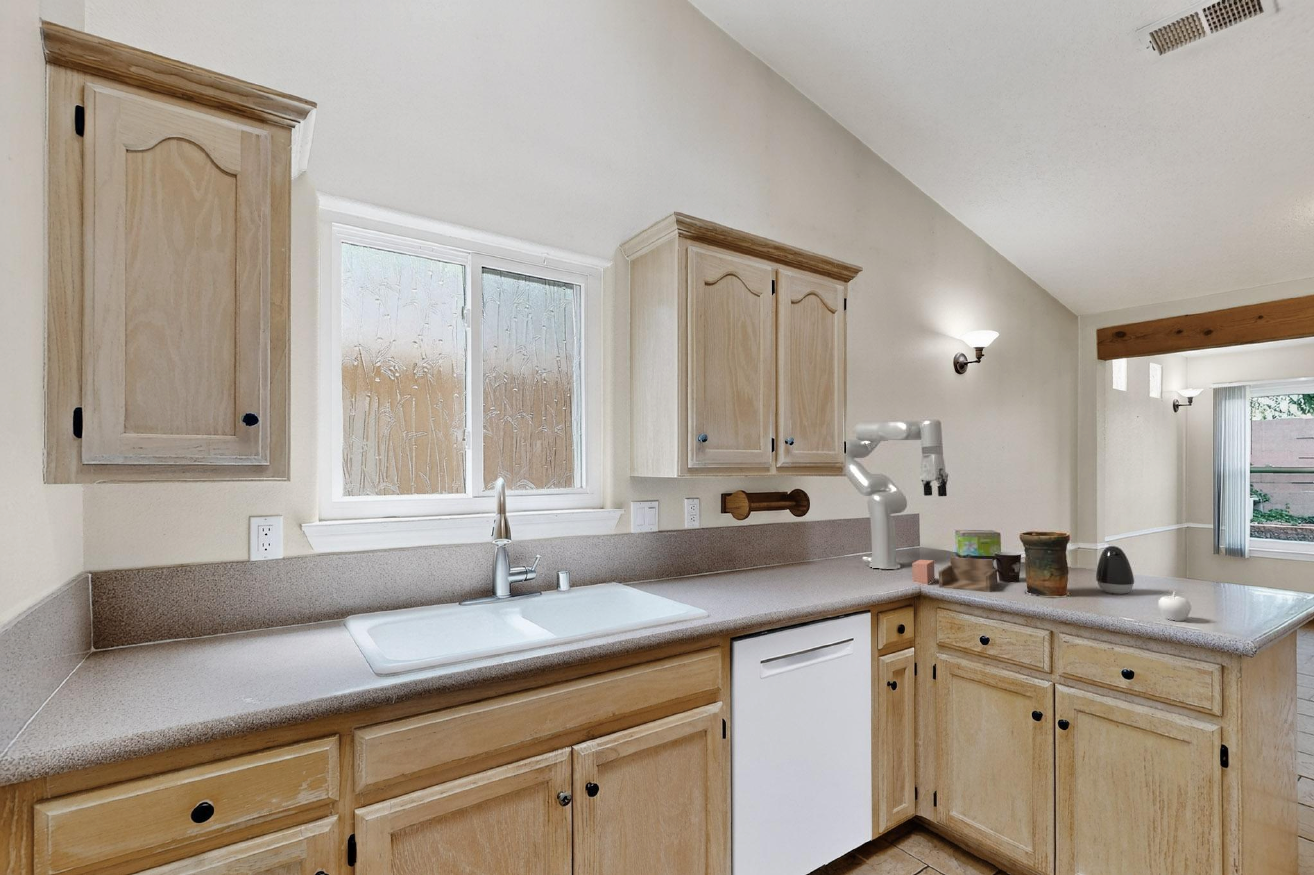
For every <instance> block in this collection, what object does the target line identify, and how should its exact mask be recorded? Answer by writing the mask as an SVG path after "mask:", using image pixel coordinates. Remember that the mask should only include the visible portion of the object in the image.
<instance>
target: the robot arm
mask: <svg viewBox="0 0 1314 875" xmlns="http://www.w3.org/2000/svg"><path fill="white" fill-rule="evenodd" d="M942 430H943V429H942V422H941V421H940V420H938V419H925V420H922V421H921V420H919V421H917V420H915V421H914V420H900V421H899V420H898V421H895V420H893V421H888V420H873V421H860V422H858V423H856V424H855V425H854V427H853V430H852V434H853V436H854V438H855V439H845V440H846V475H845V477H846V478H847V479H848V480H849V482H850V483H851V484H852V485H853V487H854V488H855V489H856V491H858V492H859V493H860V495H862V496H863V497H864V496H865V497H868V499H867V503H866V504H867V509H868V515H869V519H870V531H871V534H870V535H871V556H863V557H862V561H863V562H866V563H868V562H869V563H868V567H869V566H870V567H872V568H871V569H873V568H886V569H893V568H899V569H901V568H900V567H901V565H900V564H898V563H897V547H896V545H897V544H896V526H895V525H896V524H895V522H894V518H893V517H892V515H894V514H896V515H897V514H900V513H903V512H904V511H905V510H906V509H907V506H908V500H907V498H906V495H905V494H904V493H903V491H902V490H901V489H900V488H899V487H898V486H897V485H896V484H895V482H893V480H892V479H891V478H890V477H889V476H887V475H885V474H883V473H870V472H869V471H868V470H867V468H866V467H865V466H864V465H863V463H861V462H859V461H858V460H856V459H864V458H867V457H868V456H869V455H870V454H871V453H872V452H873V451H874V450H876V448H877V447H878V445H879V444H880V443H881V442H888V441H921V442H920V443H921V461H920V478H921V482H922V486H923V495H924V496H927V497H928V496H929V497H930V496H933V485H932V482H935V481H936V483H937V484H938V485H937V496H938V497H947V496H948V492H947V485H948V480H949V479H948V478H949V473H948V472H947V471H946V465H945V458H944V449H943V448H944V447H943V445H944V444H943V431H942ZM870 567H869V568H870Z"/></svg>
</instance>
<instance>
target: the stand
mask: <svg viewBox="0 0 1314 875" xmlns="http://www.w3.org/2000/svg"><path fill="white" fill-rule="evenodd" d="M998 581H999V580H998V572H997V568H996V569H994V563H993V560H985V559H970V558H956V557H950V565H949V564H948V565H946V566H945V567H944V568H941V569H940V570H938V587H939V588H940V587H944V588H943V589H951V588H953V590H962V589H963V591H964V590H965V591H975V592H985V593H986V592H987V593H991V592H992V591H993V590H994V589H995V587H996V586H998Z"/></svg>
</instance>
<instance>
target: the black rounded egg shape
mask: <svg viewBox="0 0 1314 875" xmlns="http://www.w3.org/2000/svg"><path fill="white" fill-rule="evenodd" d="M1134 577H1135V576H1134V573H1133V570H1132V566H1131V564H1130V561H1129V559H1128V557H1127V554H1126V553H1125V552H1124V551H1123V549H1122V548H1120V547H1118V546H1115V545H1110V546H1107V547H1105V548H1104V549H1103V551H1101V554H1100V556H1099V559H1098V563H1097V567H1096V574H1095V581H1096V582H1097V585H1098V586H1099V588H1100V589H1101V590H1102V591H1104V592H1105V593H1108V594H1112V593H1114V595H1125V594H1128V593H1129V592H1131V590H1132V589H1133V587H1134V584H1135V578H1134Z"/></svg>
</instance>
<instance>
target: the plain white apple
mask: <svg viewBox="0 0 1314 875" xmlns="http://www.w3.org/2000/svg"><path fill="white" fill-rule="evenodd" d="M1176 594H1177V593H1176V590H1173V593H1172V595H1165V596H1162V597H1161V598H1159V599H1158V601H1157V605H1158V608H1159V610H1160V612H1161V614H1162V615H1163V617H1164V618H1165V619H1167V620H1168V619H1169V621H1173V620H1175V621H1174V622H1182V621H1185V620H1186V619H1187V618H1188V617H1189V615H1190V613H1191V612H1192V604H1191V603H1190V601H1189V600H1188V598H1185V597H1182V596H1178V595H1176ZM1175 595H1176V596H1175Z"/></svg>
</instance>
